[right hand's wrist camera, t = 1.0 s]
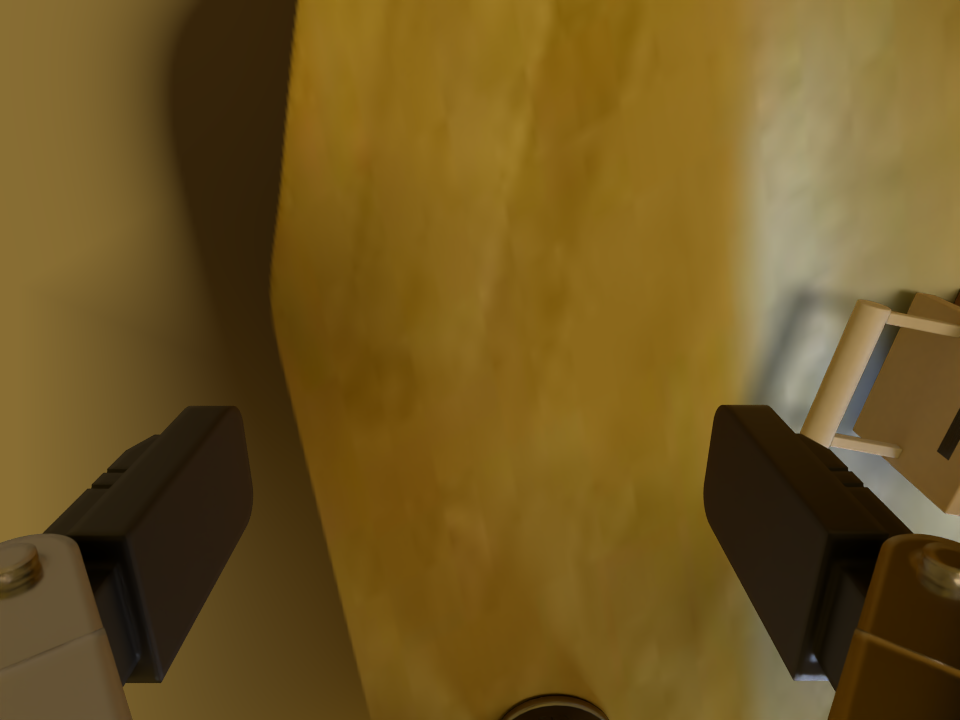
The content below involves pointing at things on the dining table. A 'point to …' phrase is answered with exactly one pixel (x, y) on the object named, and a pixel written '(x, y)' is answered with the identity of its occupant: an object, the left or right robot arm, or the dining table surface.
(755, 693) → the dining table surface
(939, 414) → the drawer
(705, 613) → the dining table surface
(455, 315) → the dining table surface
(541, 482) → the dining table surface
